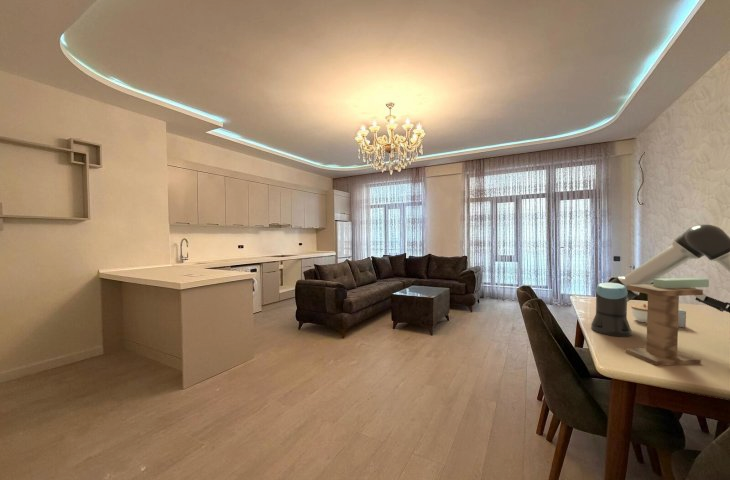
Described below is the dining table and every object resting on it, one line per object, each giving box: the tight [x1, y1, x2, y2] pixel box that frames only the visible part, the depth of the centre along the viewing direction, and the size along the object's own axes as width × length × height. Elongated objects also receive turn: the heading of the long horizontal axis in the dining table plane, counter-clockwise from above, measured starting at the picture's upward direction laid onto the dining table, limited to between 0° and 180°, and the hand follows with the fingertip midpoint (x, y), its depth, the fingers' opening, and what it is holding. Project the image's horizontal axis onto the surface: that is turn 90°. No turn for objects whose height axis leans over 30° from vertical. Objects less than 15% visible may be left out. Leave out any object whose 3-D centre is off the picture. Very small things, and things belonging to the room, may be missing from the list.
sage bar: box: [652, 277, 710, 288], centre depth 114 cm, size 19×4×3 cm, turn 95°
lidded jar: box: [631, 303, 648, 324], centre depth 160 cm, size 11×11×9 cm
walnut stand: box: [625, 283, 704, 367], centre depth 114 cm, size 18×12×28 cm, turn 95°
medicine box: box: [678, 308, 687, 328], centre depth 152 cm, size 8×4×9 cm, turn 58°
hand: (713, 293), depth 115 cm, fingers open, 13 cm apart
